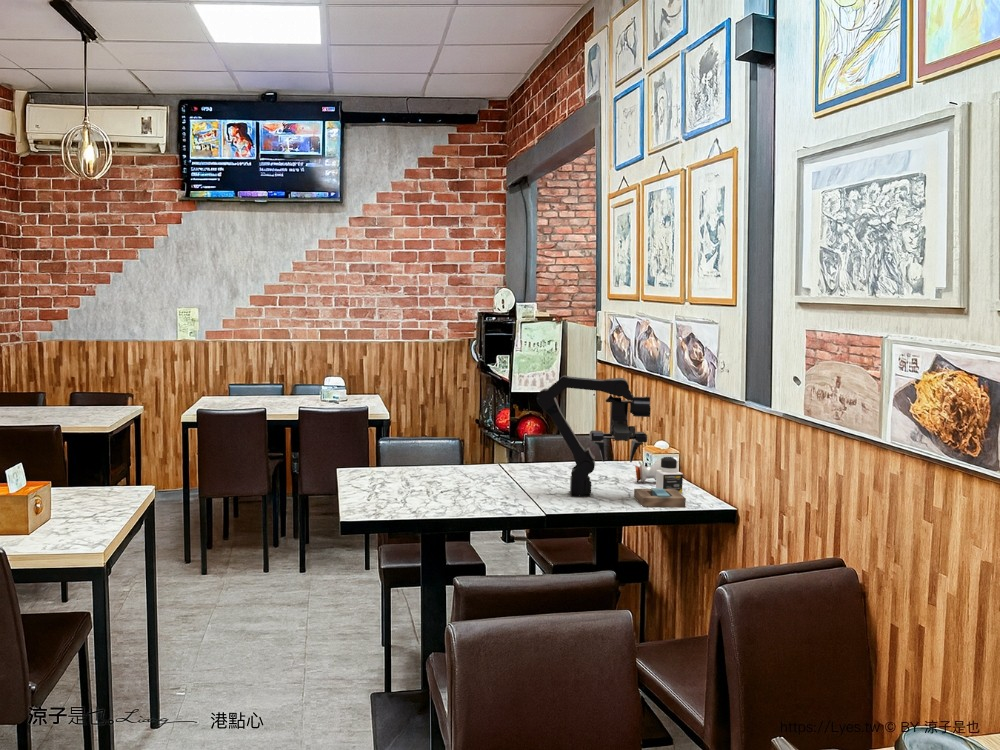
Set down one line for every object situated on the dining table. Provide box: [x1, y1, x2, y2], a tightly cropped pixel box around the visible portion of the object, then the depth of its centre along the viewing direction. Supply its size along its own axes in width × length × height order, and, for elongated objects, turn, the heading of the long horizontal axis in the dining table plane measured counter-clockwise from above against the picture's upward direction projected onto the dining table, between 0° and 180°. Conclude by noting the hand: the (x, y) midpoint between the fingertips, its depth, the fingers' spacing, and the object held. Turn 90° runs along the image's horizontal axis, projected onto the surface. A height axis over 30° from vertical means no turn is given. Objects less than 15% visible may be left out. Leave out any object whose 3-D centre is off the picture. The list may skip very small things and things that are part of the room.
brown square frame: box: [633, 488, 687, 508], centre depth 301 cm, size 14×14×3 cm
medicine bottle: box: [655, 456, 684, 495], centre depth 317 cm, size 7×7×12 cm
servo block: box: [650, 487, 670, 497], centre depth 301 cm, size 4×11×4 cm, turn 2°
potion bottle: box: [635, 457, 679, 483], centre depth 332 cm, size 9×10×15 cm
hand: (617, 461), depth 308 cm, fingers open, 9 cm apart
